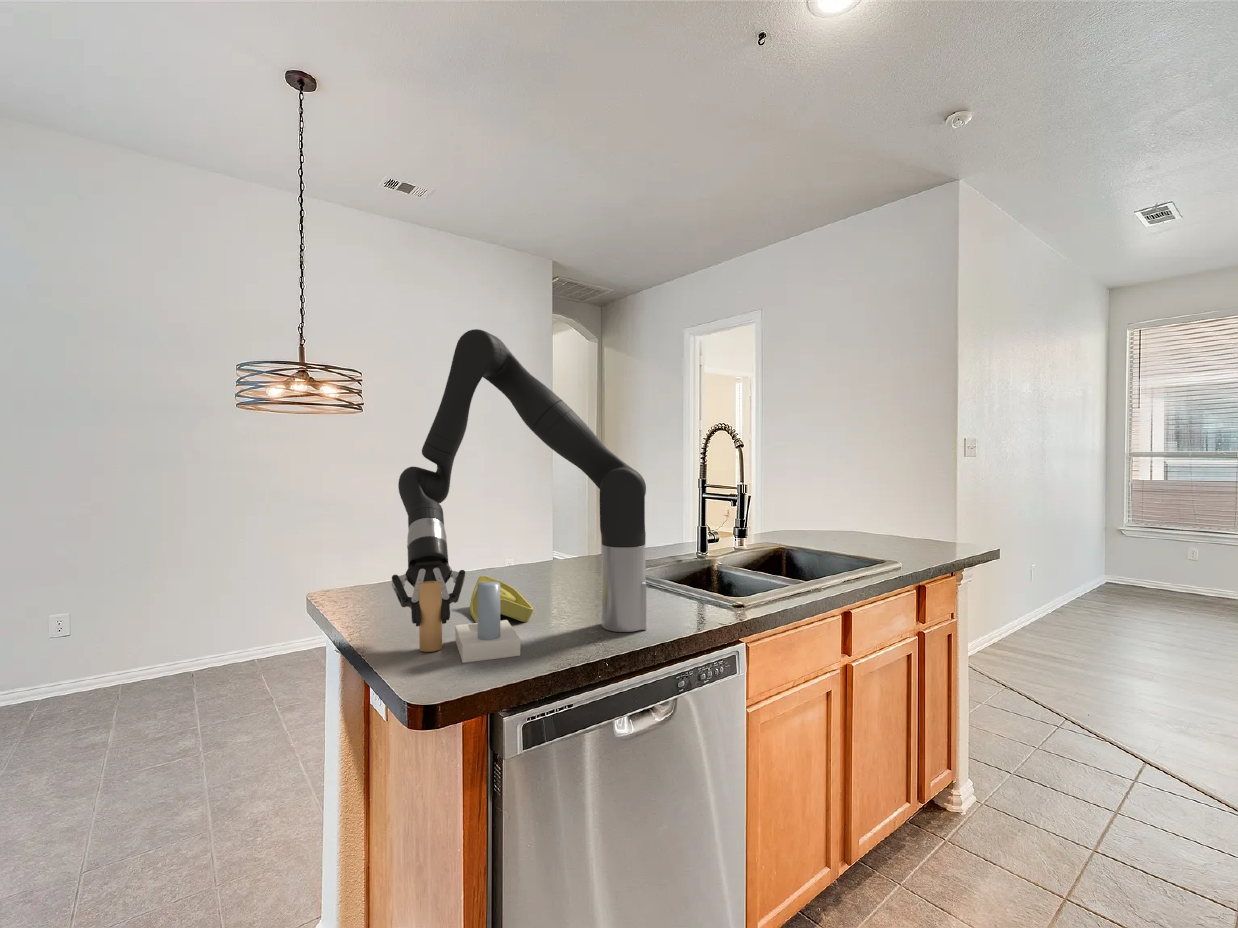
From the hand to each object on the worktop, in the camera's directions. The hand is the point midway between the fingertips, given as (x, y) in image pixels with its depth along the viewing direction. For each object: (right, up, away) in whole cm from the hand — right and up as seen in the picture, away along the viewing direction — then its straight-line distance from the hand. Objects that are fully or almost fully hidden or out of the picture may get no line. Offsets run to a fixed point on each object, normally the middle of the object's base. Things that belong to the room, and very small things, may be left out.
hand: (431, 622), depth 105 cm
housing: (+9, -6, +3) cm, 11 cm away
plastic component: (+7, -6, +26) cm, 28 cm away
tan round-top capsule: (-1, -5, +2) cm, 6 cm away
